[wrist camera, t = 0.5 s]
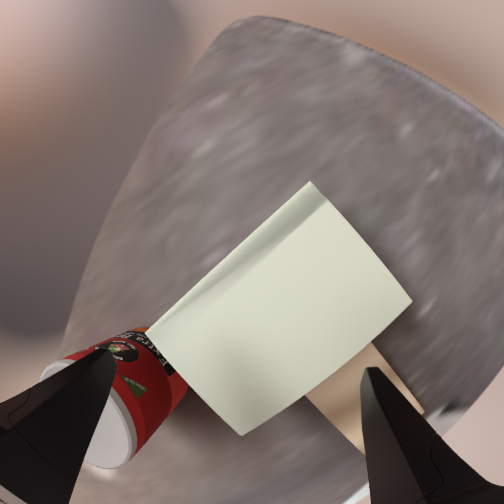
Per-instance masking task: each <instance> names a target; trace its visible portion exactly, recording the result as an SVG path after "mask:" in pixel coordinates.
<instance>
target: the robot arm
mask: <svg viewBox="0 0 504 504" xmlns="http://www.w3.org/2000/svg"><path fill="white" fill-rule="evenodd" d="M116 372H117V363H116V361H115V358H114V356H113V354H112V351H111V350H110V349H108V348H104V347H100V348H98V349H96V350H94V351H93V352H91V353H89V354H88V355H86V356H84V357H82V358H81V359H79V360H77V361H76V362H74V363H72V364H70V365H69V366H67V367H65V368H63V369H62V370H60V371H58V372H57V373H55V374H53V375H51V376H50V377H48V378H46V379H44V380H43V381H41V382H39V383H38V384H36V385H34V386H33V387H32V388H29V389H27V390H25V391H24V392H22V393H20V394H18V395H16V396H14V397H12V398H10V399H8V400H6V401H4V402H2V403H0V504H69V501H70V498H71V495H72V492H73V489H74V486H75V483H76V480H77V477H78V474H79V471H80V469H81V466H82V463H83V461H84V458H85V455H86V453H87V450H88V447H89V445H90V442H91V440H92V437H93V435H94V432H95V430H96V427H97V425H98V422H99V420H100V417H101V415H102V412H103V410H104V408H105V405H106V403H107V400H108V397H109V394H110V390H111V387H112V384H113V381H114V378H115V375H116ZM360 399H361V424H362V434H363V441H364V448H365V455H366V462H367V470H368V479H369V488H370V497H371V504H504V486H499V485H495V484H492V483H490V482H488V481H487V480H485V479H484V478H483V477H482V476H480V475H479V474H478V473H477V472H476V471H475V470H474V469H472V468H471V467H470V466H469V465H468V464H467V463H466V462H465V461H464V460H462V459H461V458H460V457H459V456H458V455H457V454H456V453H455V452H454V451H453V450H452V449H451V448H450V447H449V446H448V445H447V444H446V443H445V441H444V440H443V439H442V438H441V437H440V436H439V435H438V434H436V431H435V430H434V429H433V428H432V427H431V426H430V424H429V423H428V422H427V421H426V420H425V419H424V418H423V417H422V415H421V414H420V413H419V412H418V411H417V410H416V409H415V407H414V406H413V405H412V404H411V403H410V402H409V401H408V400H407V398H406V397H405V396H404V395H403V394H402V393H401V392H400V391H399V389H398V388H397V387H396V386H395V385H394V384H393V383H392V382H391V381H390V379H389V378H388V377H387V376H386V375H385V374H384V373H383V372H382V370H381V369H380V368H379V367H377V366H373V367H366V368H365V370H364V373H363V376H362V380H361V383H360Z"/></svg>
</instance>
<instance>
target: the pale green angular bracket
mask: <svg viewBox="0 0 504 504" xmlns="http://www.w3.org/2000/svg"><path fill="white" fill-rule="evenodd" d="M411 302H412V300H411V299H410V297H409V296H408V295H407V293H406V292H405V291H404V289H403V288H402V287H401V285H400V284H399V283H398V282H397V280H396V279H395V278H394V277H393V275H392V274H391V273H390V271H389V270H388V269H387V268H386V267H385V265H384V264H383V263H382V262H381V260H380V259H379V258H378V257H377V255H376V254H375V253H374V252H373V251H372V249H371V248H370V247H369V246H368V245H367V244H366V242H365V241H364V240H363V239H362V238H361V237H360V235H359V234H358V233H357V232H356V231H355V230H354V228H353V227H352V226H351V225H350V224H349V223H348V222H347V221H346V219H345V218H344V217H343V216H342V215H341V214H340V213H339V212H338V210H337V209H336V208H335V207H334V206H333V205H332V204H331V203H330V202H329V201H328V200H327V199H326V197H325V196H324V195H323V194H322V193H321V192H320V191H319V190H318V189H317V188H316V187H315V186H314V185H313V184H312V183H311V182H310V181H309V182H308V183H307V184H306V185H305V186H304V187H303V188H302V189H301V190H299V191H298V192H297V193H296V194H295V195H294V196H293V197H292V198H290V199H289V200H288V201H287V202H286V203H285V204H284V205H283V206H282V207H280V208H279V209H278V210H277V211H276V212H275V213H274V214H273V215H272V216H271V217H269V218H268V219H267V220H266V221H265V222H264V223H263V224H262V225H261V226H260V227H258V228H257V229H256V230H255V231H254V232H253V233H252V234H251V235H250V236H249V237H247V238H246V239H245V240H244V241H243V242H242V243H241V244H240V245H239V246H238V247H237V248H235V249H234V250H233V251H232V252H231V253H230V254H229V255H228V256H227V257H226V258H225V259H223V260H222V261H221V262H220V263H219V264H218V265H217V266H216V267H215V268H214V269H213V270H211V271H210V272H209V273H208V274H207V275H206V276H205V277H204V278H203V279H202V280H201V281H200V282H199V283H197V284H196V285H195V286H194V287H193V288H192V289H191V290H190V291H189V292H188V293H187V294H186V295H185V296H183V297H182V298H181V299H180V300H179V301H178V302H177V303H176V304H175V305H174V306H173V307H172V308H171V309H170V310H168V311H167V312H166V313H165V314H164V315H163V316H162V317H161V318H160V319H159V320H158V321H157V322H156V323H155V324H154V325H152V326H151V327H150V328H149V329H148V330H147V331H146V332H145V334H146V335H147V337H148V338H149V339H150V340H151V342H152V343H153V344H154V345H155V347H156V348H157V349H158V350H159V351H160V353H161V354H162V355H163V356H164V357H165V358H166V360H167V361H168V362H169V363H170V364H171V365H172V366H173V368H174V369H175V370H176V371H177V372H178V373H179V374H180V375H181V377H182V378H183V379H184V380H185V381H186V382H187V383H188V384H189V385H190V386H191V387H192V388H193V390H194V391H195V392H196V393H197V394H198V395H199V396H200V397H201V398H202V399H203V400H204V401H205V402H206V403H207V404H208V405H209V406H210V407H211V408H212V409H213V410H214V411H215V412H216V413H217V414H218V415H219V416H220V417H221V418H222V419H223V420H224V421H225V422H226V423H227V424H228V425H229V426H230V427H232V428H233V429H234V430H235V431H236V432H237V433H238V434H239V435H240V436H243V435H244V434H246V433H248V432H249V431H251V430H253V429H254V428H256V427H257V426H259V425H261V424H262V423H264V422H265V421H267V420H268V419H270V418H271V417H273V416H275V415H276V414H278V413H279V412H281V411H282V410H283V409H285V408H286V407H288V406H289V405H291V404H292V403H294V402H295V401H296V400H298V399H299V398H301V397H302V396H303V395H305V394H306V393H308V392H309V391H310V390H312V389H313V388H314V387H316V386H317V385H318V384H320V383H321V382H322V381H324V380H325V379H326V378H327V377H329V376H330V375H331V374H333V373H334V372H335V371H336V370H338V369H339V368H340V367H341V366H343V365H344V364H345V363H346V362H347V361H349V360H350V359H351V358H352V357H353V356H355V355H356V354H357V353H358V352H359V351H360V350H362V349H363V348H364V347H365V346H366V345H367V344H368V343H370V342H371V341H372V340H373V339H374V338H375V337H376V336H377V335H378V334H379V333H381V332H382V331H383V330H384V329H385V328H386V327H387V326H388V325H389V324H390V323H391V322H392V321H393V320H394V319H395V318H396V317H397V316H398V315H399V314H401V313H402V312H403V311H404V310H405V309H406V308H407V307H408V306H409V305H410V303H411Z"/></svg>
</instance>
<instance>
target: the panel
mask: <svg viewBox="0 0 504 504" xmlns="http://www.w3.org/2000/svg"><path fill="white" fill-rule="evenodd" d="M373 366H377V367H379V368H380V369H381V370H382V372H383V373H384V374H385V375H386V376H387V377H388V378H389V379H390V381H391V382H392V383H393V384H394V385H395V386H396V387H397V388H398V389H399V391H400V392H401V393H402V394H403V395H404V396H405V397H406V398H407V400H408V401H409V402H410V403H411V404H412V405H413V406H414V407H415V409H416V410H417V411H418V412H419V413H420V414H421V415H422V414H423V413H424V412H425V411H424V410H423V409H422V407H421V406H420V405H419V403H418V402H417V401H416V399H415V398H414V397H413V395H412V394H411V393H410V391H409V390H408V389H407V388H406V386H405V385H404V384H403V382H402V381H401V380H400V378H399V377H398V376H397V375H396V373H395V372H394V371H393V369H392V368H391V367H390V366H389V364H388V363H387V362H386V361H385V359H384V358H383V357H382V355H381V354H380V353H379V352H378V350H377V349H376V348H375V347H374V345H373V344H372V343H371V342H370V343H368V344H367V345H366V346H365V347H364V348H363V349H362V350H360V351H359V352H358V353H357V354H356V355H355V356H353V357H352V358H351V359H350V360H349V361H347V362H346V363H345V364H344V365H343V366H341V367H340V368H339V369H338V370H336V371H335V372H334V373H333V374H331V375H330V376H329V377H327V378H326V379H325V380H324V381H322V382H321V383H320V384H318V385H317V386H316V387H314V388H313V389H312V390H310V391H309V392H308V393H306V394H305V396H306V397H307V398H308V399H309V400H310V401H311V402H312V403H313V404H314V405H315V406H316V407H317V408H318V409H319V410H320V411H321V412H322V413H323V414H324V416H325V417H326V418H327V419H328V420H329V421H330V422H331V423H332V424H333V425H334V426H335V427H336V428H337V429H338V430H339V431H340V432H341V433H342V434H343V435H344V436H345V437H346V438H347V439H348V440H350V441H351V442H352V443H353V444H354V445H355V446H356V447H357V448H358V449H359V450H360V451H361V452H362V453H363V454H364V455H365V448H364V441H363V434H362V424H361V399H360V383H361V380H362V376H363V373H364V370H365V368H366V367H373ZM365 456H366V455H365Z"/></svg>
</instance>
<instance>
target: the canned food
mask: <svg viewBox="0 0 504 504" xmlns="http://www.w3.org/2000/svg"><path fill="white" fill-rule="evenodd" d="M148 329H149V328H143V327H142V328H135V329H132V330H129V331H127V332H125V333H122V334H120V335H117V336H115V337H113V338H110V339H108V340H106V341H103V342H101V343H98V344H96V345H94V346H91V347H89V348H86V349H84V350H81V351H79V352H77V353H74V354H72V355H69V356H67V357H65V358H63V359H60V360H58V361H56V362H54V363H53V364H51V365H49V366H48V367H47V368H46V369H45V370H44V372H43V373H42V375H41V378H40V382H41V381H43V380H44V379H46V378H48V377H50V376H51V375H53V374H55V373H57V372H58V371H60V370H62V369H63V368H65V367H67V366H69V365H70V364H72V363H74V362H76V361H77V360H79V359H81V358H82V357H84V356H86V355H88V354H89V353H91V352H93V351H94V350H96V349H98V348H100V347H104V348H108V349H110V350H111V351H112V354H113V356H114V358H115V361H116V363H117V372H116V375H115V378H114V381H113V384H112V387H111V390H110V394H109V397H108V400H107V403H106V405H105V408H104V410H103V412H102V415H101V417H100V420H99V422H98V425H97V427H96V430H95V432H94V435H93V437H92V440H91V442H90V445H89V447H88V450H87V453H86V455H85V458H84V461H85V462H87V463H88V464H91V465H93V466H96V467H99V468H103V469H116V468H120V467H122V466H123V465H125V464H126V463H127V462H128V461H130V460H131V459H132V458H133V456H134V455H135V454H136V453H137V452H138V451H139V450H140V449H141V448H142V446H143V445H144V444H145V443H146V442H147V441H148V439H149V438H150V437H151V436H152V435H153V433H154V432H155V431H156V430H157V429H158V427H159V426H160V425H161V424H162V423H163V421H164V420H165V419H166V418H167V416H168V415H169V414H170V413H171V412H172V410H173V409H174V408H175V407H176V405H177V404H178V403H179V402H180V401H181V399H182V398H183V397H184V395H185V394H186V391H187V389H188V385H189V384H188V383H187V382H186V381H185V380H184V379H183V378H182V377H181V375H180V374H179V373H178V372H177V371H176V370H175V369H174V368H173V366H172V365H171V364H170V363H169V362H168V361H167V360H166V358H165V357H164V356H163V355H162V354H161V353H160V351H159V350H158V349H157V348H156V347H155V345H154V344H153V343H152V342H151V340H150V339H149V338H148V337H147V335H146V334H145V332H146V331H147V330H148Z"/></svg>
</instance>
